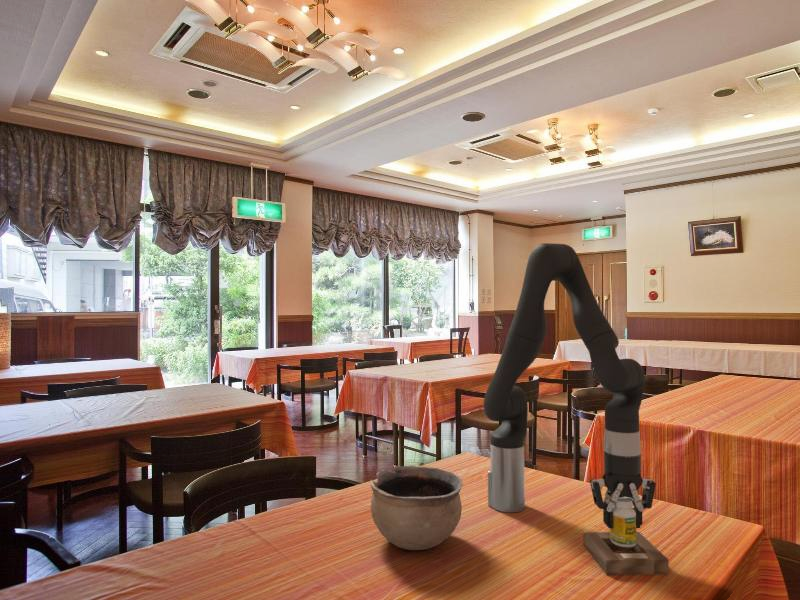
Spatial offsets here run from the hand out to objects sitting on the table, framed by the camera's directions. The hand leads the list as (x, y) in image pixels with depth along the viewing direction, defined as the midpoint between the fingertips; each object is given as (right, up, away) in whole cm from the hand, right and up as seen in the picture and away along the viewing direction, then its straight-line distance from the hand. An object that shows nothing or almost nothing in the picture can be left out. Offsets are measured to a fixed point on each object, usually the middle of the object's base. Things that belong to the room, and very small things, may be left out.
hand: (623, 526), depth 113 cm
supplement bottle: (0, -4, 0) cm, 4 cm away
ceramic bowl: (-45, -8, +9) cm, 47 cm away
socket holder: (0, -7, 0) cm, 7 cm away
